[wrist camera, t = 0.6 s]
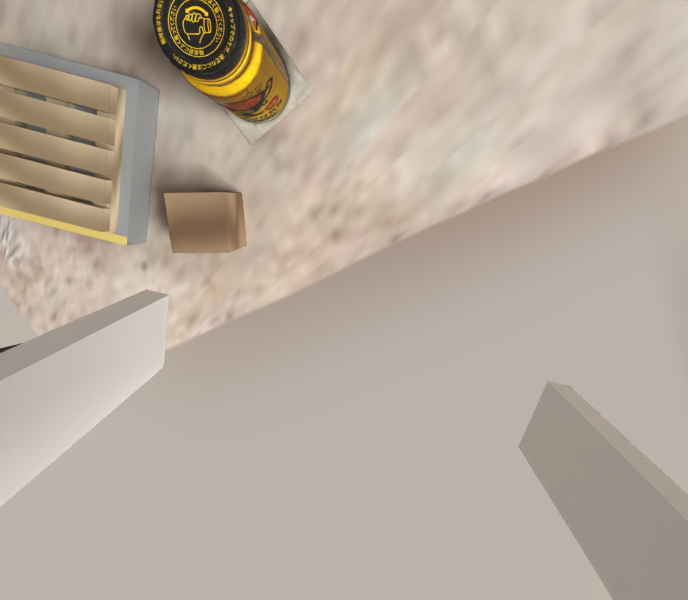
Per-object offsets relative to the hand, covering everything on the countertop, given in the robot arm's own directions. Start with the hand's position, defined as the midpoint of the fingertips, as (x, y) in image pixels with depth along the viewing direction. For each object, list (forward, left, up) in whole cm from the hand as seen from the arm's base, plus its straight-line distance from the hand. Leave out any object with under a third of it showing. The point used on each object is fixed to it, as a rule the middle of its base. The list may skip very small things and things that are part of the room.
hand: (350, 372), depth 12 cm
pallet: (-3, -27, -21) cm, 34 cm away
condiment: (-13, -13, -24) cm, 31 cm away
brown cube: (0, -14, -24) cm, 28 cm away
